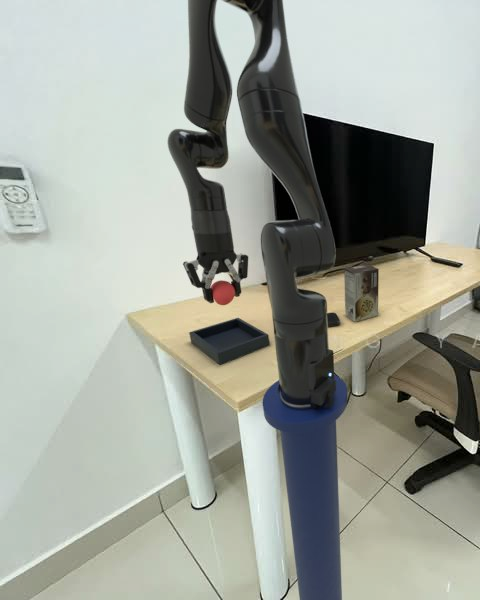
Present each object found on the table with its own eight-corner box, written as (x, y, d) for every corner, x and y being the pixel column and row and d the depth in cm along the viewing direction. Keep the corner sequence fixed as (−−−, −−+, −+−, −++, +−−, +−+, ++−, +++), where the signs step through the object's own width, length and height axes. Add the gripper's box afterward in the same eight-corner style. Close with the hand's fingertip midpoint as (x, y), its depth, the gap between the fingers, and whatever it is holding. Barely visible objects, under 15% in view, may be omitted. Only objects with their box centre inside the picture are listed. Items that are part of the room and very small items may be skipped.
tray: (269, 345, 81) (268, 334, 80) (219, 365, 72) (217, 353, 71) (239, 327, 90) (238, 317, 89) (191, 342, 81) (188, 332, 79)
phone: (340, 321, 94) (288, 328, 88) (340, 325, 94) (288, 331, 88) (335, 312, 100) (286, 317, 95) (335, 315, 101) (286, 320, 95)
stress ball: (241, 299, 82) (228, 277, 81) (239, 298, 74) (225, 274, 73) (221, 308, 80) (207, 286, 79) (217, 308, 72) (202, 284, 71)
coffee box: (367, 309, 107) (368, 263, 101) (378, 315, 102) (379, 268, 97) (344, 315, 101) (343, 267, 95) (355, 322, 97) (354, 272, 91)
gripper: (183, 235, 63) (198, 311, 69) (251, 229, 74) (259, 295, 80) (169, 230, 67) (185, 302, 73) (236, 225, 78) (244, 288, 84)
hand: (224, 298), depth 77 cm, fingers closed on stress ball, 5 cm apart
